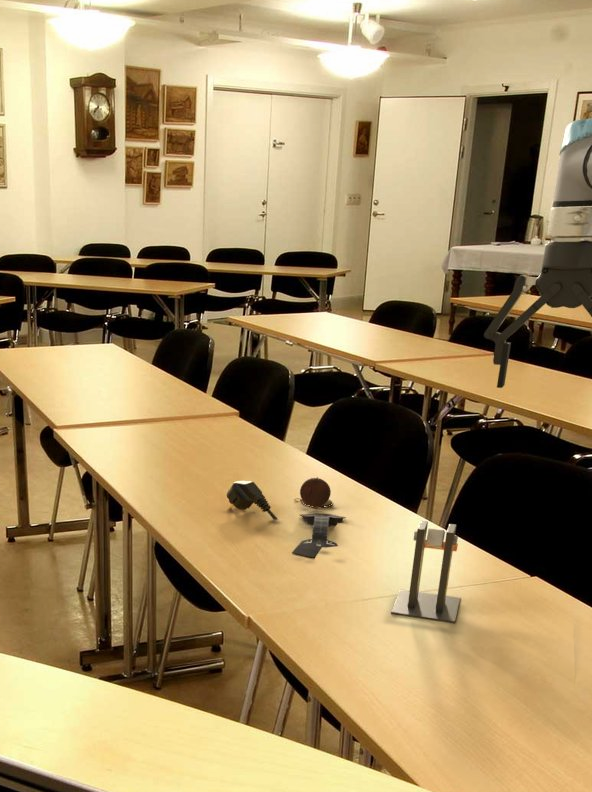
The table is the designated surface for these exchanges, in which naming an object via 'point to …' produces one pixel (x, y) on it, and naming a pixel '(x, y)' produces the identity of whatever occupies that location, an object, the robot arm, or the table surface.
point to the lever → (436, 540)
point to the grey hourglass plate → (317, 534)
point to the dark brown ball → (315, 493)
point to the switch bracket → (428, 603)
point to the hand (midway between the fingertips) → (549, 389)
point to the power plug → (247, 497)
